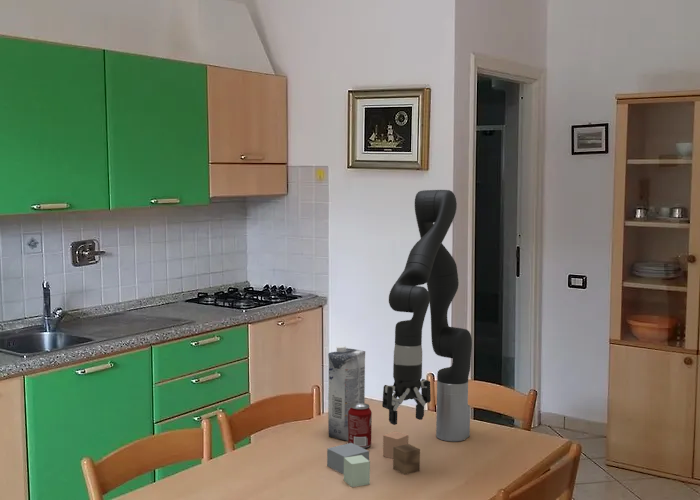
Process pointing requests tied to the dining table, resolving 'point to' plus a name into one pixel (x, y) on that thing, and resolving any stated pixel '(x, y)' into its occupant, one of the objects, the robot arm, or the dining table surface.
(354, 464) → the pale green block
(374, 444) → the dining table surface
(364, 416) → the soda can
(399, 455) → the walnut block
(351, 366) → the juice carton
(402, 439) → the tan block
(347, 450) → the grey base block
